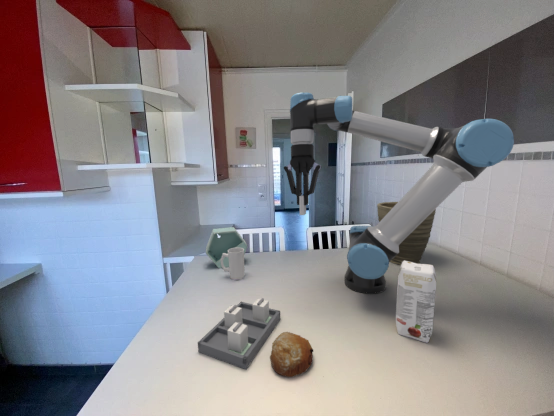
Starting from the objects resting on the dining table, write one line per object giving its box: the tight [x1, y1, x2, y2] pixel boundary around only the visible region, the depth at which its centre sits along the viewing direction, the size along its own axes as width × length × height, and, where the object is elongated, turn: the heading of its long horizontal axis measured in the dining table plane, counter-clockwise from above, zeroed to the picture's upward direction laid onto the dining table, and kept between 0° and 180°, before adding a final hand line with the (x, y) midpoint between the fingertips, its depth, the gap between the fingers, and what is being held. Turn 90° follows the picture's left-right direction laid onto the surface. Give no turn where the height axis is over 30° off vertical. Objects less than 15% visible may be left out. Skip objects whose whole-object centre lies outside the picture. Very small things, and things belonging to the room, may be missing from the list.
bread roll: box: [269, 331, 314, 378], centre depth 56 cm, size 10×10×8 cm
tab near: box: [227, 322, 248, 353], centre depth 58 cm, size 4×3×6 cm
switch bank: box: [197, 301, 281, 370], centre depth 65 cm, size 14×20×3 cm
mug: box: [221, 248, 246, 281], centre depth 100 cm, size 10×7×12 cm, turn 96°
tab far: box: [251, 297, 270, 322], centre depth 69 cm, size 4×3×6 cm
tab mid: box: [223, 304, 243, 328], centre depth 66 cm, size 4×3×6 cm
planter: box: [205, 226, 248, 269], centre depth 114 cm, size 17×8×21 cm
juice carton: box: [395, 260, 437, 344], centre depth 63 cm, size 8×9×19 cm
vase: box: [376, 201, 437, 266], centre depth 113 cm, size 25×24×30 cm
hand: (302, 214), depth 81 cm, fingers closed
